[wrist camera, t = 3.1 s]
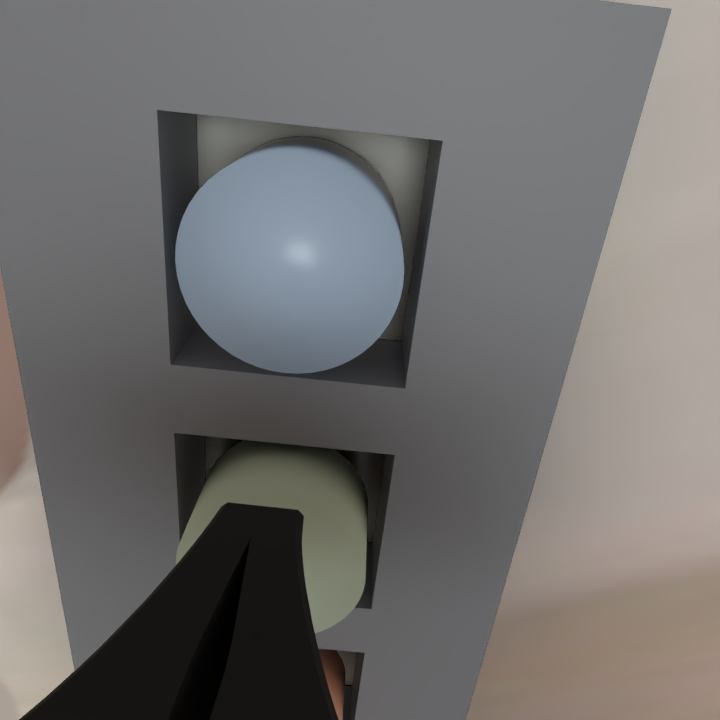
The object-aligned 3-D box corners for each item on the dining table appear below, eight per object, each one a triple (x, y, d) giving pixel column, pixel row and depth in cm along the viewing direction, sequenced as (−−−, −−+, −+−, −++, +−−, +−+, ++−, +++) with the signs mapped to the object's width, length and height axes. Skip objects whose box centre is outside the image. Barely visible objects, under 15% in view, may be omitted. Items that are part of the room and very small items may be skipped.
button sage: (359, 569, 17) (356, 646, 15) (206, 554, 17) (179, 629, 15) (376, 442, 15) (375, 509, 13) (203, 425, 15) (171, 489, 13)
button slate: (388, 334, 15) (389, 383, 12) (211, 316, 14) (180, 361, 12) (412, 148, 13) (419, 166, 10) (207, 126, 13) (169, 139, 10)
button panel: (434, 734, 23) (440, 807, 20) (122, 705, 22) (94, 776, 20) (616, 19, 12) (671, 8, 10) (21, -48, 12) (-62, -73, 9)
